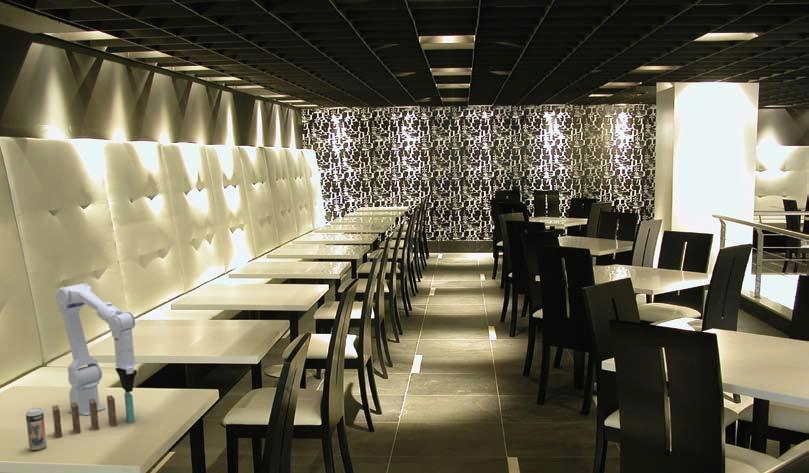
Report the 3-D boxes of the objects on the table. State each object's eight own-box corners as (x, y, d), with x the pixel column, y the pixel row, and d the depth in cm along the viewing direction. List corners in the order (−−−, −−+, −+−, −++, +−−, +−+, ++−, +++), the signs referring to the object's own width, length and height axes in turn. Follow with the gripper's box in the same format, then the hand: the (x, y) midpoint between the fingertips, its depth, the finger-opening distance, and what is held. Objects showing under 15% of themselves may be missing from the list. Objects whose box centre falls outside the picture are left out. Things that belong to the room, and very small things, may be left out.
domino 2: (75, 434, 249) (72, 407, 248) (73, 429, 253) (70, 402, 252) (80, 433, 249) (78, 405, 248) (78, 428, 254) (76, 401, 253)
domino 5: (129, 423, 257) (127, 396, 256) (126, 419, 261) (124, 392, 260) (134, 422, 258) (132, 395, 257) (131, 418, 262) (129, 391, 261)
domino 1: (56, 438, 246) (53, 410, 245) (54, 433, 250) (52, 406, 249) (62, 437, 247) (59, 409, 246) (60, 432, 251) (57, 405, 250)
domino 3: (93, 430, 251) (91, 403, 250) (91, 426, 256) (88, 399, 255) (99, 429, 252) (96, 402, 251) (96, 425, 256) (94, 398, 255)
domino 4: (111, 426, 254) (109, 400, 253) (108, 422, 258) (106, 396, 257) (116, 425, 255) (114, 399, 254) (114, 421, 259) (111, 395, 258)
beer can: (29, 452, 235) (25, 414, 233) (29, 447, 239) (25, 409, 237) (47, 449, 237) (43, 410, 235) (46, 444, 241) (42, 406, 240)
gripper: (141, 352, 252) (144, 393, 254) (132, 343, 265) (135, 382, 266) (118, 356, 249) (122, 397, 250) (110, 346, 261) (114, 386, 263)
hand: (127, 390), depth 258 cm, fingers open, 4 cm apart
